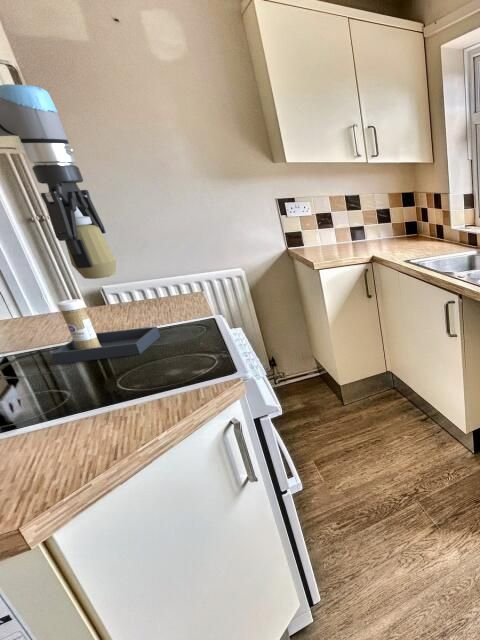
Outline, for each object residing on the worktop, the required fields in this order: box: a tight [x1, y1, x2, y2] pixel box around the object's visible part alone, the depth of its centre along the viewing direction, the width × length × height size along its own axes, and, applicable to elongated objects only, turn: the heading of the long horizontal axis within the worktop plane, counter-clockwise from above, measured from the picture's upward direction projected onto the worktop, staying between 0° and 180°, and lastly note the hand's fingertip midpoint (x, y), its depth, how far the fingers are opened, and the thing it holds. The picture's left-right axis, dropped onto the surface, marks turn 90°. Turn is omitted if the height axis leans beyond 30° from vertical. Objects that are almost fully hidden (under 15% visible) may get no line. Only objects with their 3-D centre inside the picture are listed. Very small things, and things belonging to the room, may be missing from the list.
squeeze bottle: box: [64, 206, 117, 280], centre depth 102 cm, size 8×8×18 cm
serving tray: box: [50, 326, 161, 365], centre depth 111 cm, size 17×13×3 cm
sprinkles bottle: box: [56, 298, 101, 350], centre depth 108 cm, size 5×5×14 cm
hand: (94, 263), depth 104 cm, fingers closed on squeeze bottle, 8 cm apart
